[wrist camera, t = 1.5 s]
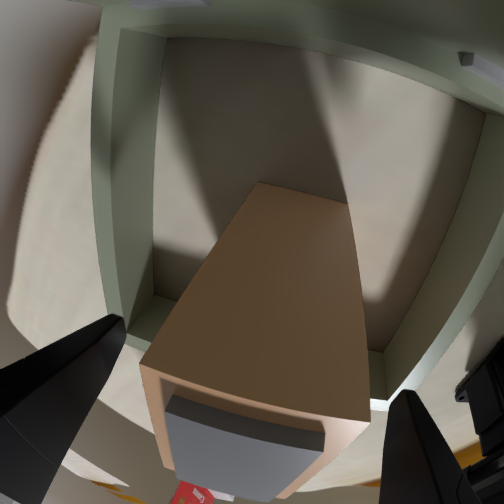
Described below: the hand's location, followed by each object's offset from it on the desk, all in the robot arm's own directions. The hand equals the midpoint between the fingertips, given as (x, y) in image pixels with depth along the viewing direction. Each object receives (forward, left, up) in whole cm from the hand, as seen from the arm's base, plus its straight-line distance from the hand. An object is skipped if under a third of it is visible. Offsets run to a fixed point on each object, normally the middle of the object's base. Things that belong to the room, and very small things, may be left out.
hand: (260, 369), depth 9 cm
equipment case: (0, -2, -7) cm, 7 cm away
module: (0, 0, -7) cm, 7 cm away
